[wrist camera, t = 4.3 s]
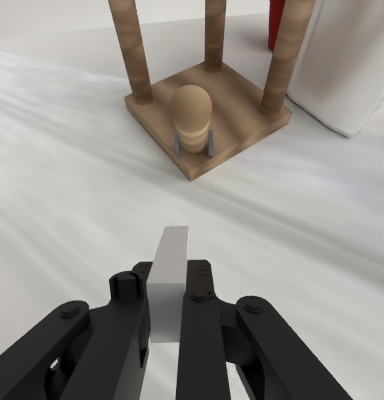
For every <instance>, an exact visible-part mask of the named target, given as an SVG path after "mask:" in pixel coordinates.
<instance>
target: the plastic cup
mask: <svg viewBox="0 0 384 400" xmlns="http://www.w3.org/2000/svg"><path fill="white" fill-rule="evenodd" d="M285 1H286V0H270V12H269V39H268V44H269V46H268V47H269V49H270V50H271V51H274V47H275V43H276V39H277V35H278V30H279V26H280V22H281V18H282V14H283V9H284V5H285Z"/></svg>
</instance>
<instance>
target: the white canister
mask: <svg viewBox="0 0 384 400" xmlns="http://www.w3.org/2000/svg"><path fill="white" fill-rule="evenodd" d="M286 94H287V95H288V96H289V98H290V99H291V100H292V101H294V102H295V103H296V104H298V105H299V106H300V107H302V108H303V109H304V110H306V111H307V112H308V113H310V114H311V115H313V116H314V117H315V118H317V119H318V120H319V121H321V122H322V123H323V124H325V125H326V126H327V127H329V128H330V129H332V130H334V131H336V132H338V133H340V134H342V135H344V136H346V137H349V138H351V137H353V136H354V135H356V134H358V133H359V132H361V131H362V129H363V128H364V126H365V125H366V124H367V122H368V121H369V119H370V118H371V117H372V115H373V114H374V112H375V111H376V110H377V108H378V107H379V105H380V104H381V103H382V101H383V100H384V0H316V2H315V5H314V8H313V11H312V14H311V17H310V20H309V23H308V26H307V30H306V33H305V36H304V39H303V42H302V45H301V48H300V51H299V54H298V57H297V60H296V64H295V67H294V70H293V73H292V76H291V79H290V82H289V85H288V88H287V91H286Z"/></svg>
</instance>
